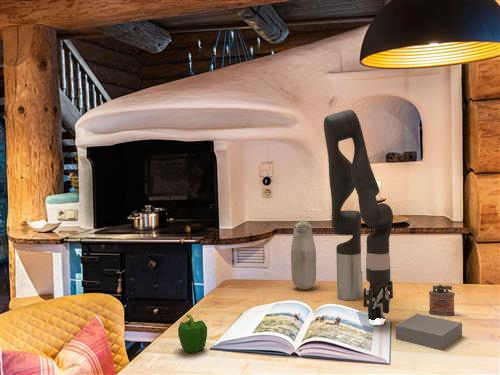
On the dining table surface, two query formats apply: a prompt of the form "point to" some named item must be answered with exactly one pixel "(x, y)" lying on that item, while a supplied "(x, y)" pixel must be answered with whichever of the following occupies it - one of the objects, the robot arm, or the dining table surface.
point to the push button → (380, 308)
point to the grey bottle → (303, 256)
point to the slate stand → (429, 331)
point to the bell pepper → (192, 335)
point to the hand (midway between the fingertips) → (378, 316)
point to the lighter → (441, 301)
